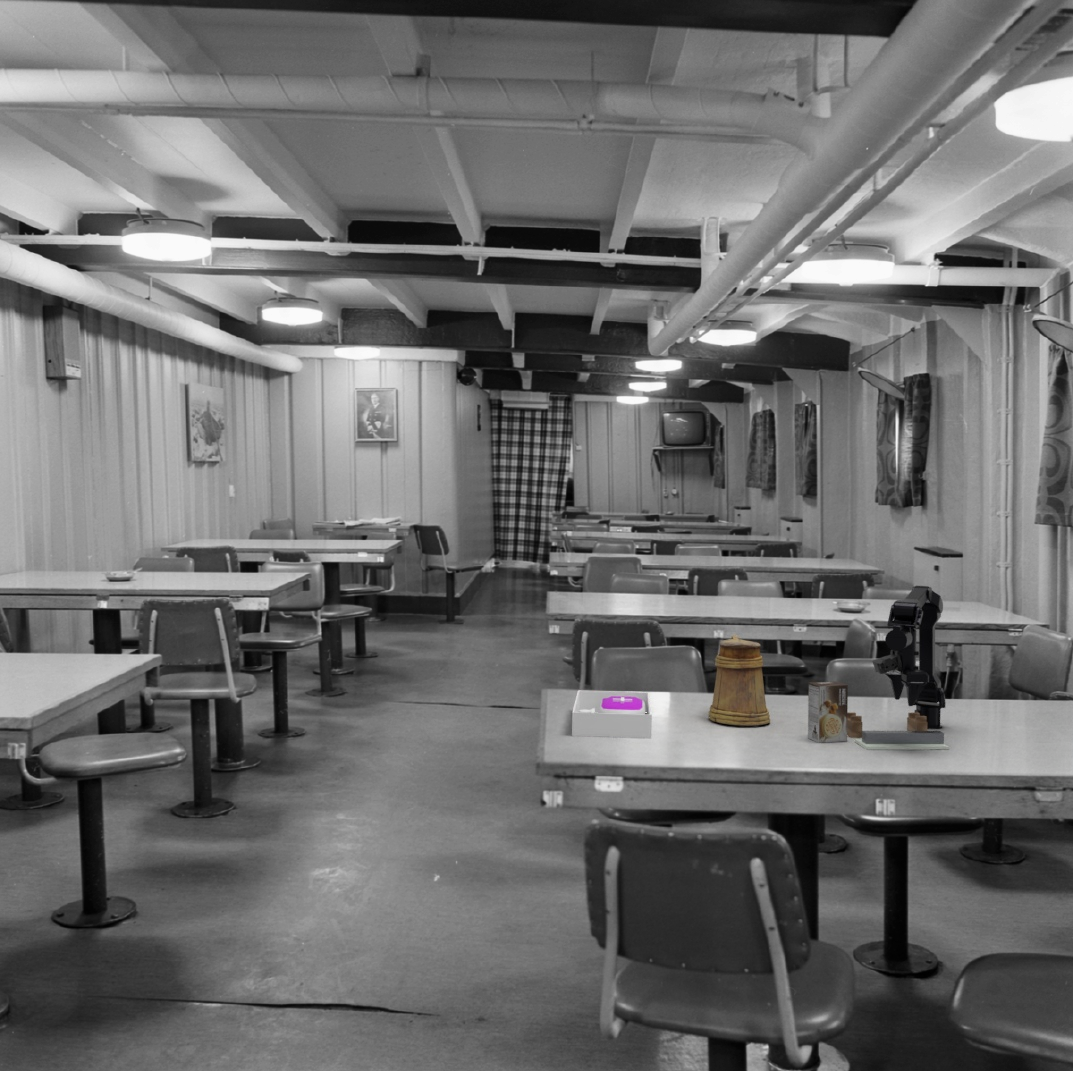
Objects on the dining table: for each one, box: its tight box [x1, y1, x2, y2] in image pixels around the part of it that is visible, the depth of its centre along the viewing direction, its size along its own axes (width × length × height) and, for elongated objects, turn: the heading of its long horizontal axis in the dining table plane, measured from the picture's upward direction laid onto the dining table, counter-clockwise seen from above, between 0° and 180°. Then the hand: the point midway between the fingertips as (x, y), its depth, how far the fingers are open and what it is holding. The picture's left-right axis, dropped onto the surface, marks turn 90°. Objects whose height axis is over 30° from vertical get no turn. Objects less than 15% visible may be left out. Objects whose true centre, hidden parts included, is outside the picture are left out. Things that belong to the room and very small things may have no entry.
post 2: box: [906, 712, 928, 731], centre depth 303 cm, size 3×7×6 cm, turn 3°
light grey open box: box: [571, 689, 653, 739], centre depth 313 cm, size 22×35×7 cm, turn 175°
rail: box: [861, 730, 945, 744], centre depth 290 cm, size 22×3×3 cm, turn 93°
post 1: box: [847, 711, 863, 739], centre depth 302 cm, size 3×7×6 cm, turn 3°
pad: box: [854, 738, 950, 751], centre depth 290 cm, size 23×9×1 cm, turn 93°
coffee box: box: [807, 681, 849, 744], centre depth 295 cm, size 9×6×16 cm
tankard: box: [708, 634, 771, 726], centre depth 321 cm, size 18×24×25 cm
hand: (903, 702), depth 290 cm, fingers open, 9 cm apart
